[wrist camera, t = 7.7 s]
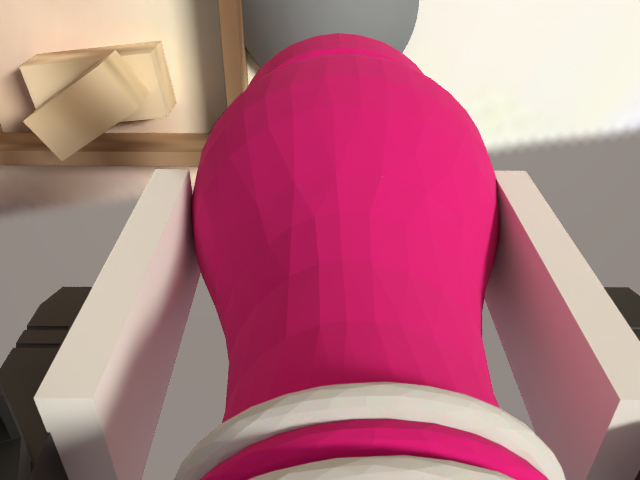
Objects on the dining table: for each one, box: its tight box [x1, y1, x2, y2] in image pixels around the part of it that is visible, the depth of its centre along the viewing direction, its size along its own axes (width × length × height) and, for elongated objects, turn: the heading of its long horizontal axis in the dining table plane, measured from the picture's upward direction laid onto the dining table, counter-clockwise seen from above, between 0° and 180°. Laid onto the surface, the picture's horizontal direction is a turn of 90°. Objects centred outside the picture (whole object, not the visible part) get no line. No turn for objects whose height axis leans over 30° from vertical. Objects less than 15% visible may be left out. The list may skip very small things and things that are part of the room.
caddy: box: [0, 0, 248, 166], centre depth 33 cm, size 18×19×3 cm
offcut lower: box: [19, 41, 176, 122], centre depth 36 cm, size 8×4×3 cm, turn 96°
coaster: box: [241, 0, 419, 67], centre depth 34 cm, size 11×11×1 cm
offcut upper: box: [23, 50, 150, 161], centre depth 34 cm, size 6×3×3 cm, turn 122°
